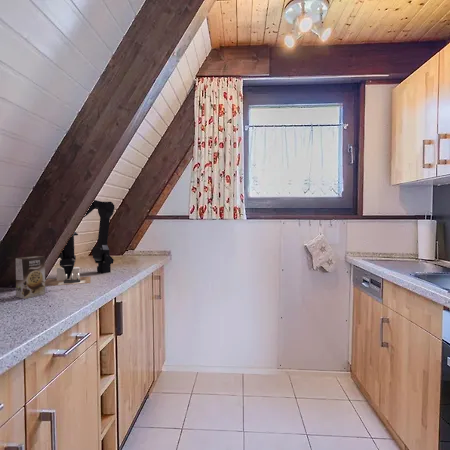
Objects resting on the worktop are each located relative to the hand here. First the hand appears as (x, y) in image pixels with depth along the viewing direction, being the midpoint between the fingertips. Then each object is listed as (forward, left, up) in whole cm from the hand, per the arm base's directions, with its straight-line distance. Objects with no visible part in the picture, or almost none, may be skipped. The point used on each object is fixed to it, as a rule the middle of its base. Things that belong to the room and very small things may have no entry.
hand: (68, 277), depth 172 cm
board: (0, +5, -2) cm, 5 cm away
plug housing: (0, 0, -1) cm, 1 cm away
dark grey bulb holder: (-2, +9, -1) cm, 9 cm away
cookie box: (+13, +23, -3) cm, 26 cm away
